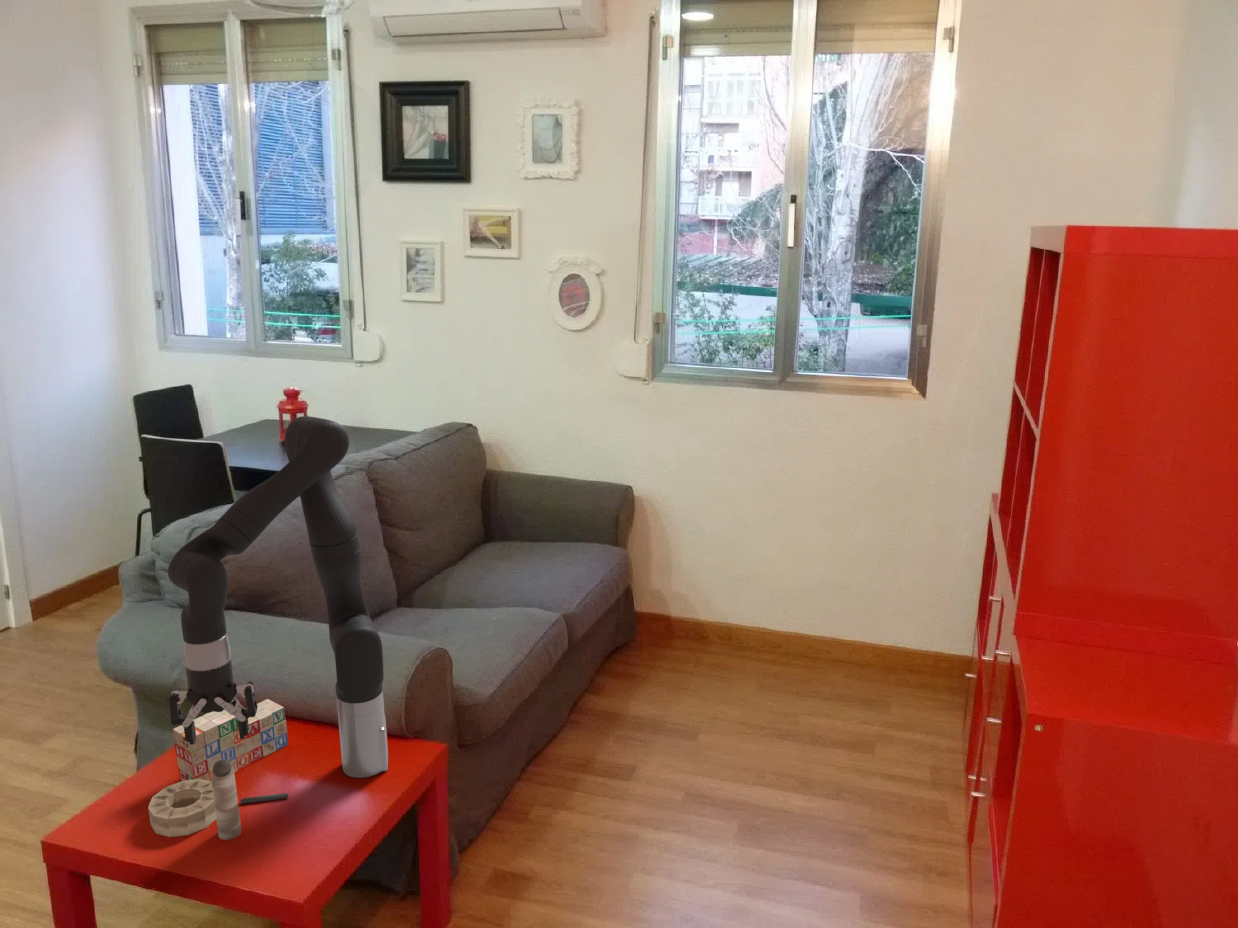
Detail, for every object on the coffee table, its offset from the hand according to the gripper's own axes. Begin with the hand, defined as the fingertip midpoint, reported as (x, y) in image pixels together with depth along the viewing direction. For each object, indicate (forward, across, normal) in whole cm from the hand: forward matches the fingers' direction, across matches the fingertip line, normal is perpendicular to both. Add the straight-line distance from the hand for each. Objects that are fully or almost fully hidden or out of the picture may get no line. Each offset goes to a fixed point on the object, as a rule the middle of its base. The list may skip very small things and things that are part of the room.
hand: (218, 739), depth 170 cm
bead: (+20, +9, -7) cm, 23 cm away
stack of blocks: (+20, +3, -24) cm, 32 cm away
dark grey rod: (+20, -5, -9) cm, 22 cm away
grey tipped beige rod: (+20, 0, 0) cm, 20 cm away
